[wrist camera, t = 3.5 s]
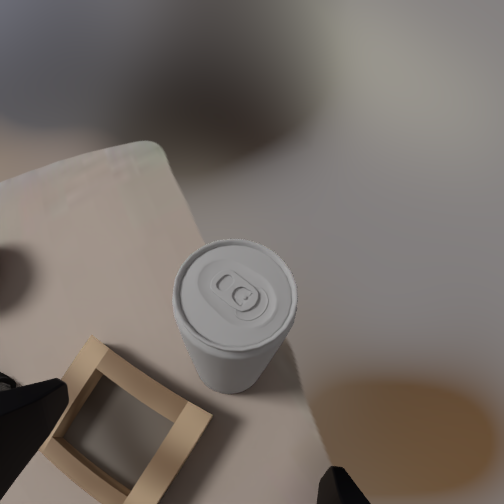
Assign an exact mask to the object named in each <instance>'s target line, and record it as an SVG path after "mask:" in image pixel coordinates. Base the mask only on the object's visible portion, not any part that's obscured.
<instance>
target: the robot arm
mask: <svg viewBox="0 0 504 504" xmlns="http://www.w3.org/2000/svg"><path fill="white" fill-rule="evenodd" d="M68 404H69V394H68V386H67V384H66V383H65V382H64V381H62V380H60V379H58V378H54V379H50V380H46V381H42V382H38V383H34V384H30V385H26V386H21V387H17V388H13V389H8V390H3V391H0V500H1V499H2V497H3V496H4V495H5V493H6V492H7V491H8V489H9V488H10V486H11V485H12V484H13V482H14V481H15V480H16V478H17V477H18V476H19V474H20V473H21V472H22V470H23V469H24V468H25V466H26V465H27V464H28V463H29V461H30V460H31V459H32V457H33V456H34V455H35V453H36V452H37V451H38V450H39V448H40V447H41V446H42V444H43V443H44V442H45V441H46V439H47V438H48V437H49V435H50V434H51V432H52V431H53V429H54V427H55V426H56V424H57V422H58V421H59V419H60V417H61V416H62V414H63V413H64V411H65V409H66V408H67V406H68ZM317 504H370V502H369V501H368V500H367V498H366V497H365V496H364V494H363V493H362V492H361V491H360V489H359V488H358V487H357V485H356V484H355V483H354V481H353V480H352V479H351V477H350V476H349V475H348V473H347V472H346V471H345V469H344V468H343V467H337V466H331V467H330V468H329V469H328V470H327V471H326V473H325V474H324V476H323V477H322V478H321V480H320V483H319V489H318V498H317Z"/></svg>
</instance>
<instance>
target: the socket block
mask: <svg viewBox="0 0 504 504" xmlns="http://www.w3.org/2000/svg"><path fill="white" fill-rule="evenodd" d="M61 380H62V381H64V382H65V383H66V384H67V386H68V394H69V404H68V406H67V408H66V409H65V411H64V413H63V414H62V416H61V417H60V419H59V421H58V422H57V424H56V426H55V427H54V429H53V431H52V432H51V434H50V435H49V437H48V438H47V439H46V441H45V442H44V443H43V444H42V446H41V447H40V448H39V451H40V452H41V453H42V454H43V455H44V456H45V457H46V458H47V459H48V460H49V461H51V462H52V463H53V464H54V465H55V466H56V467H57V468H58V469H59V470H60V471H62V472H63V473H64V474H65V475H66V476H67V477H68V478H70V479H71V480H72V481H73V482H74V483H76V484H77V485H78V486H79V487H81V488H82V489H83V490H84V491H86V492H87V493H88V494H89V495H91V496H92V497H93V498H95V499H96V500H97V501H99V502H100V503H102V504H158V503H159V502H160V500H161V499H162V497H163V496H164V494H165V492H166V491H167V489H168V488H169V486H170V485H171V483H172V482H173V480H174V479H175V477H176V476H177V474H178V472H179V471H180V469H181V468H182V466H183V465H184V463H185V461H186V460H187V458H188V457H189V455H190V453H191V452H192V450H193V449H194V447H195V445H196V444H197V442H198V441H199V439H200V437H201V436H202V434H203V432H204V431H205V429H206V427H207V426H208V424H209V422H210V421H211V419H212V417H213V415H212V414H210V413H208V412H206V411H205V410H203V409H201V408H199V407H198V406H196V405H194V404H192V403H191V402H189V401H187V400H185V399H184V398H182V397H180V396H179V395H177V394H176V393H174V392H172V391H171V390H169V389H167V388H166V387H164V386H163V385H161V384H160V383H158V382H156V381H155V380H153V379H152V378H150V377H149V376H147V375H146V374H144V373H143V372H141V371H140V370H139V369H137V368H136V367H134V366H133V365H131V364H130V363H129V362H127V361H126V360H124V359H123V358H122V357H120V356H119V355H117V354H116V353H115V352H113V351H112V350H111V349H109V348H108V347H107V346H105V345H104V344H103V343H102V342H100V341H99V340H98V339H96V338H95V337H94V336H93V335H91V336H90V338H89V339H88V340H87V342H86V343H85V345H84V346H83V348H82V349H81V351H80V352H79V353H78V355H77V356H76V358H75V359H74V361H73V362H72V364H71V365H70V367H69V368H68V370H67V371H66V373H65V374H64V376H63V377H62V379H61Z"/></svg>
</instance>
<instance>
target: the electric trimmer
mask: <svg viewBox="0 0 504 504" xmlns="http://www.w3.org/2000/svg"><path fill="white" fill-rule="evenodd" d="M13 388H16V383H15V382H14V381H13V380H12V379H11V378H10V377H9V376H7V375H5V374H3V373H1V372H0V391H3V390H8V389H13Z"/></svg>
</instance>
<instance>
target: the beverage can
mask: <svg viewBox="0 0 504 504" xmlns="http://www.w3.org/2000/svg"><path fill="white" fill-rule="evenodd" d="M297 302H298V296H297V285H296V282H295V279H294V276H293V273H292V272H291V270H290V269H289V267H288V266H287V264H286V263H285V261H284V260H283V259H282V258H281V257H279V256H278V255H277V254H276V253H275V252H274V251H273V250H271V249H269V248H267V247H265V246H263V245H262V244H259V243H256V242H252V241H249V240H244V239H225V240H219V241H215V242H212V243H209V244H207V245H204V246H202V247H201V248H199V249H198V250H196V251H195V252H194V253H192V254H191V255H190V256H189V257H188V258H187V259H186V261H185V262H184V263H183V264H182V265H181V267H180V269H179V271H178V274H177V276H176V278H175V283H174V289H173V298H172V304H173V311H174V318H175V321H176V323H177V326H178V328H179V331H180V334H181V336H182V339H183V341H184V344H185V346H186V349H187V351H188V353H189V355H190V357H191V359H192V361H193V363H194V365H195V367H196V370H197V372H198V374H199V376H200V379H201V380H202V381H203V382H204V384H205V385H206V386H207V387H209V388H210V389H212V390H213V391H216V392H219V393H223V394H234V393H239V392H242V391H244V390H246V389H248V388H249V387H251V386H252V385H253V384H254V383H255V382H256V381H257V379H258V378H259V376H260V375H261V373H262V372H263V371H264V369H265V368H266V366H267V365H268V363H269V362H270V360H271V359H272V357H273V356H274V354H275V353H276V351H277V350H278V348H279V347H280V345H281V344H282V342H283V341H284V339H285V337H286V336H287V334H288V332H289V331H290V329H291V327H292V325H293V323H294V319H295V315H296V311H297Z"/></svg>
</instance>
